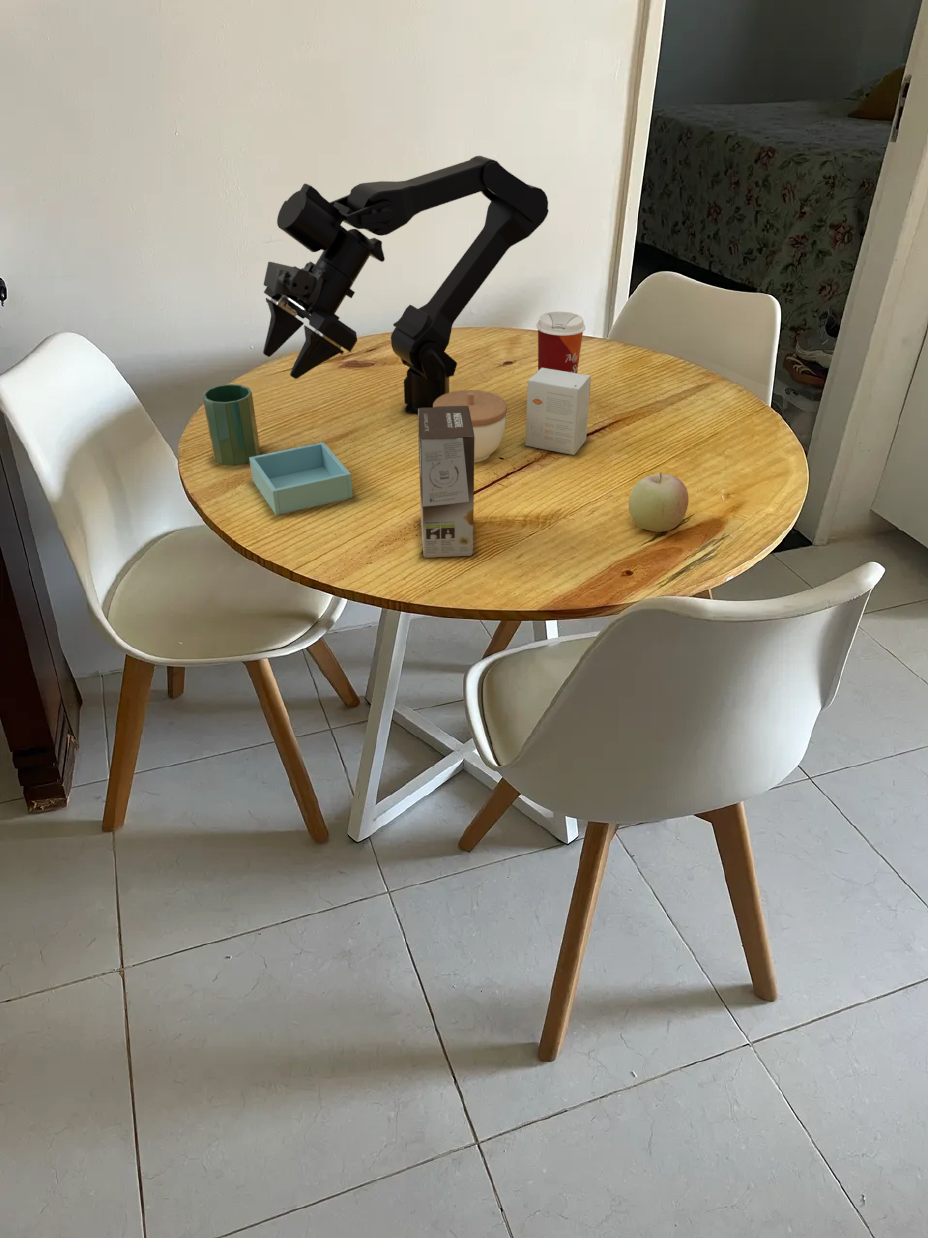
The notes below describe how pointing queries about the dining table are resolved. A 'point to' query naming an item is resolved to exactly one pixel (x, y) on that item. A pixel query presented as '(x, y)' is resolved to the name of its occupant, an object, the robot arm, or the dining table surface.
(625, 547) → the dining table surface
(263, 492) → the bin
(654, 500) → the fruit
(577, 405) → the small box
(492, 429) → the trinket box
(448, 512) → the coffee box
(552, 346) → the paper cup
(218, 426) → the cup
